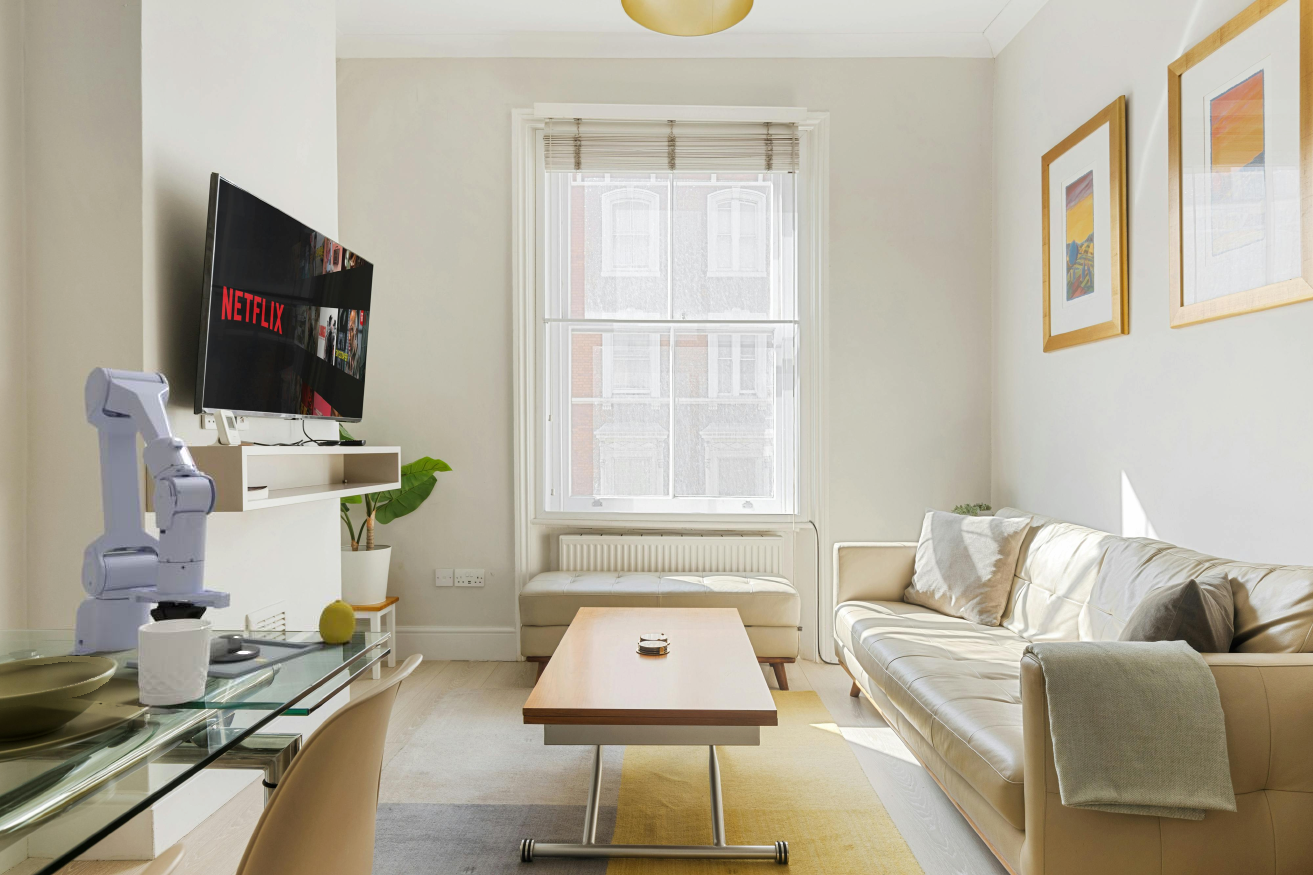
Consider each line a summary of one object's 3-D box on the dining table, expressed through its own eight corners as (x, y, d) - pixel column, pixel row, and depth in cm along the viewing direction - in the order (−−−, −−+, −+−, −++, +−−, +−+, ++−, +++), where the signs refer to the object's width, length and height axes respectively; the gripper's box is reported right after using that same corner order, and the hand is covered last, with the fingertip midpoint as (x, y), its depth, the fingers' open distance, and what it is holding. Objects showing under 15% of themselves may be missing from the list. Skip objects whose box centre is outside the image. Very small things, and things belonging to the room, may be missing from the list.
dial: (227, 647, 120) (228, 628, 120) (272, 652, 118) (273, 632, 118) (167, 665, 110) (169, 643, 110) (215, 670, 108) (216, 648, 108)
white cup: (140, 700, 98) (144, 620, 98) (212, 694, 101) (216, 617, 102) (127, 719, 91) (132, 633, 91) (204, 712, 94) (209, 629, 94)
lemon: (360, 645, 130) (362, 597, 130) (343, 653, 124) (346, 603, 124) (328, 643, 130) (331, 595, 130) (310, 651, 125) (313, 601, 125)
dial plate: (125, 674, 109) (126, 661, 109) (225, 646, 126) (225, 635, 126) (234, 687, 104) (235, 673, 105) (321, 656, 122) (322, 644, 122)
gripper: (113, 560, 108) (107, 659, 108) (206, 566, 106) (201, 666, 105) (153, 555, 115) (148, 647, 115) (241, 560, 113) (237, 654, 112)
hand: (176, 656), depth 111 cm, fingers closed
